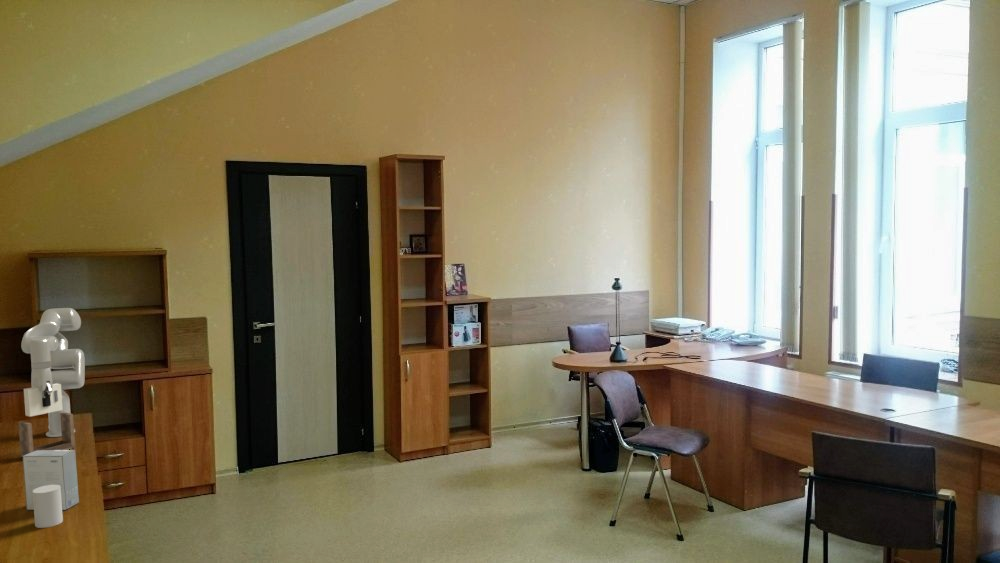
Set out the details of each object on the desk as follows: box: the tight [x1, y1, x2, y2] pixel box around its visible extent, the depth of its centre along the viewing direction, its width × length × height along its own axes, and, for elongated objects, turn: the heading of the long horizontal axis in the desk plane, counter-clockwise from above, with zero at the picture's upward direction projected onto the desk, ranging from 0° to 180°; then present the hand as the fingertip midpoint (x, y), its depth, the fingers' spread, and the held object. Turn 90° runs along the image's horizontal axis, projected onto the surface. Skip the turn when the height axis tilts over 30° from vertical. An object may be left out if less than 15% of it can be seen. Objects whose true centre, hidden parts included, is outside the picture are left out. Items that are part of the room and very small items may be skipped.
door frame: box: [18, 412, 76, 458], centre depth 336 cm, size 8×20×16 cm, turn 148°
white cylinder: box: [33, 485, 64, 529], centre depth 253 cm, size 8×8×12 cm
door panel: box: [23, 383, 63, 418], centre depth 335 cm, size 4×14×12 cm, turn 147°
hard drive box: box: [22, 449, 80, 511], centre depth 269 cm, size 16×8×20 cm, turn 84°
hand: (44, 405), depth 336 cm, fingers closed on door panel, 4 cm apart
